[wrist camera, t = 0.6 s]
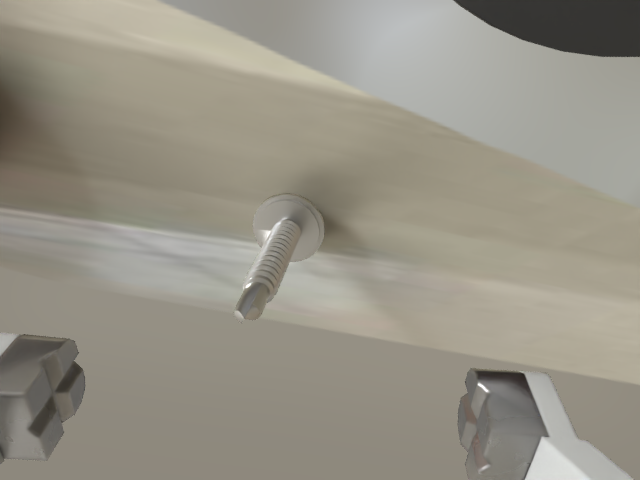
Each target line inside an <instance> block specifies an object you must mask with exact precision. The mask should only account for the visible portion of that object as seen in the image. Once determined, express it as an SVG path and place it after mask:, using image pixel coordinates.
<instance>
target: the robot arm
mask: <svg viewBox="0 0 640 480" xmlns="http://www.w3.org/2000/svg"><path fill="white" fill-rule="evenodd" d="M78 353H79V352H78V350H77V346H76V343H75V341H73V340H71V339H66V338H56V337H46V336H36V335H25V334H24V335H20V334H10V333H1V332H0V464H1V463H2V462H4V459H22V460H42V461H47V460H48V459H49V457H50V455H51V453H52V452H53V450H54V448H55V447H56V445H57V443H58V442H59V440H60V438H61V437H62V435H63V433H64V431H63V426H62V422H64V421H66V420H67V419H69V418H70V417H72V416H73V415H75V413H76V411H77V409H78V408H79V406H80V404H81V402H82V398H83V394H84V391H85V376H84V372H83V369H82V368H81V367H80V366H79V365H78V364H77V363H76V362H75V361H74V360H75V358H76V357H77V355H78ZM465 383H466V387H467V392H468V393H467V394H465V395H464V396H463V397H462V398H461V400H460V405H459V410H458V431H459V437H460V442H461V445H462V446H463V447H464V448H465V449H466V450H467V452H468V455H467V459H466V463H465V466H466V471H467V476H468V480H634V479H633V478H632V477H631V476H630V475H628V474H627V473H626V472H625V471H623V470H622V469H621V468H620V467H618V466H617V465H616V464H615V463H614V462H613V461H611V460H610V459H609V458H608V457H607V456H605V455H604V454H603V453H602V452H600V451H599V450H598V449H597V448H596V447H594V446H593V445H592V444H591V443H589V442H588V441H587V440H579V438H578V436H577V434H576V432H575V429H574V427H573V425H572V423H571V421H570V418H569V416H568V414H567V412H566V410H565V407H564V405H563V403H562V401H561V399H560V396H559V394H558V393H557V390H556V388H555V386H554V383H553V381H552V379H551V377H550V376H549V375H548V374H547V373H543V372H526V371H521V372H519V371H507V370H492V369H476V368H471V369H470V370H469V372H468V373H467V377H466V381H465Z"/></svg>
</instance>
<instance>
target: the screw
mask: <svg viewBox="0 0 640 480" xmlns="http://www.w3.org/2000/svg"><path fill="white" fill-rule="evenodd" d="M253 233H254V236H255V239H256V241H257V242H258V244H259V246H260V247H261V250H260V252H259V253H258V255H257V257H256V259H255V261H254V262H253V264H252V266H251V267H250V269H249V271H248V273H247V275H246V278H245V280H244V282H243V290H244V291H243V293H242V295H241V297H240V299H239V301H238V303H237V305H236V307H235V310H234V316H235V318H236V319H237V320H238V321H239V322H240V323H242V322H243V320H244V319H248V320H256V319H258V318H259V317H260V315H261V314H262V312H263V309H264V307H265V305H266V303H268V302H270V301H271V300H272V299H273V297H274V295H275V294H276V293H277V291H278V288H279V286H280V283H281V281H282V279H283V277H284V274H285V272H286V269H287V267H288V265H289V262H296V261H302V260H304V259H307V258H309V257H310V256H312V255H313V254H314V253H315V252H316V251H317V250H318V249H319V247H320V246H321V244H322V241H323V238H324V235H325V225H324V220H323V218H322V215H321V213H320V211H319V210H318V209H317V207H316V206H315V205H314V204H313V203H312V202H310V201H309V200H307V199H306V198H304V197H302V196H299V195H296V194H290V193H284V194H278V195H274V196H272V197H270V198H268V199H266V200H265V201H264V202H263V203H262V204H261V205H260V207H259V208H258V210H257V211H256V213H255V216H254V219H253Z"/></svg>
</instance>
